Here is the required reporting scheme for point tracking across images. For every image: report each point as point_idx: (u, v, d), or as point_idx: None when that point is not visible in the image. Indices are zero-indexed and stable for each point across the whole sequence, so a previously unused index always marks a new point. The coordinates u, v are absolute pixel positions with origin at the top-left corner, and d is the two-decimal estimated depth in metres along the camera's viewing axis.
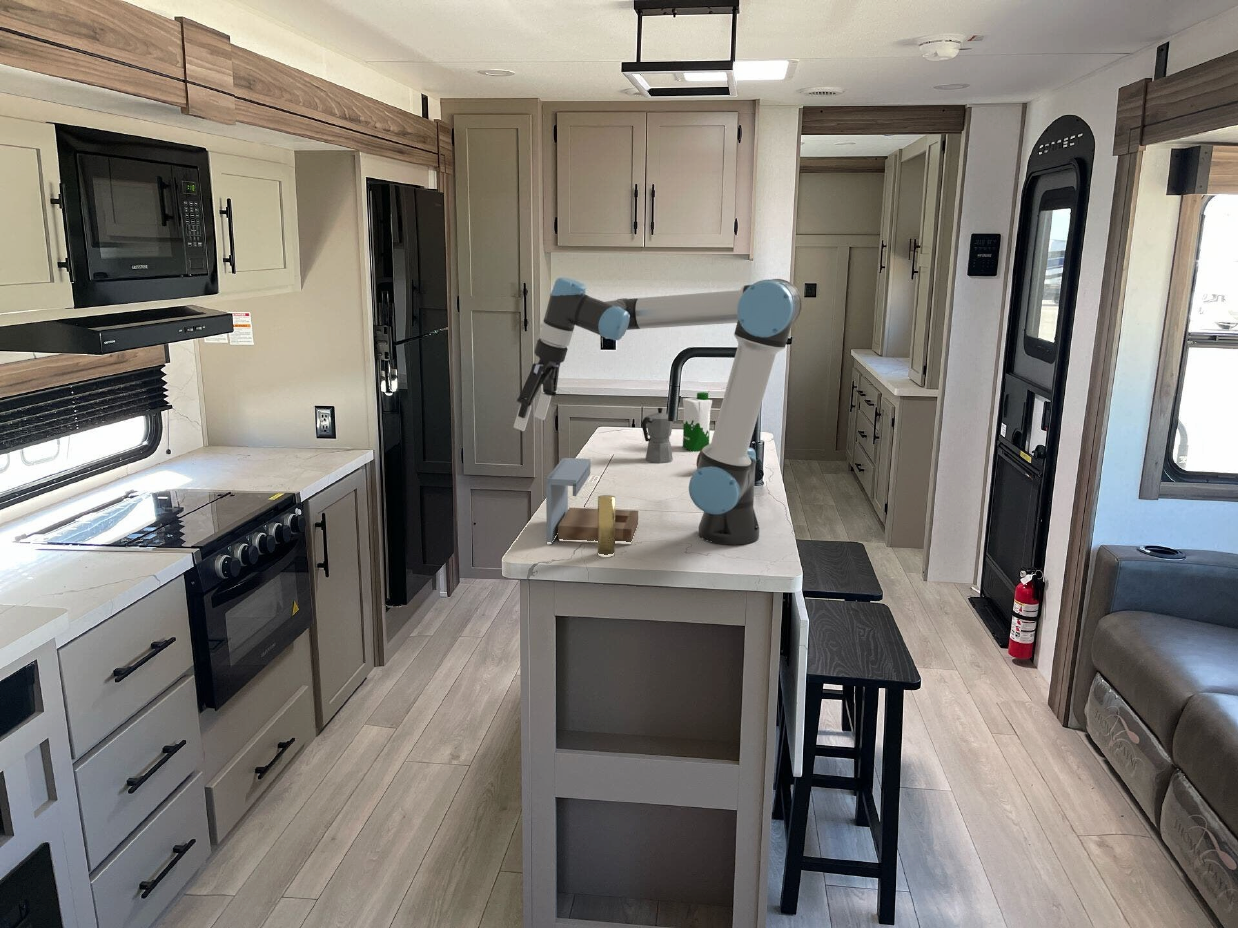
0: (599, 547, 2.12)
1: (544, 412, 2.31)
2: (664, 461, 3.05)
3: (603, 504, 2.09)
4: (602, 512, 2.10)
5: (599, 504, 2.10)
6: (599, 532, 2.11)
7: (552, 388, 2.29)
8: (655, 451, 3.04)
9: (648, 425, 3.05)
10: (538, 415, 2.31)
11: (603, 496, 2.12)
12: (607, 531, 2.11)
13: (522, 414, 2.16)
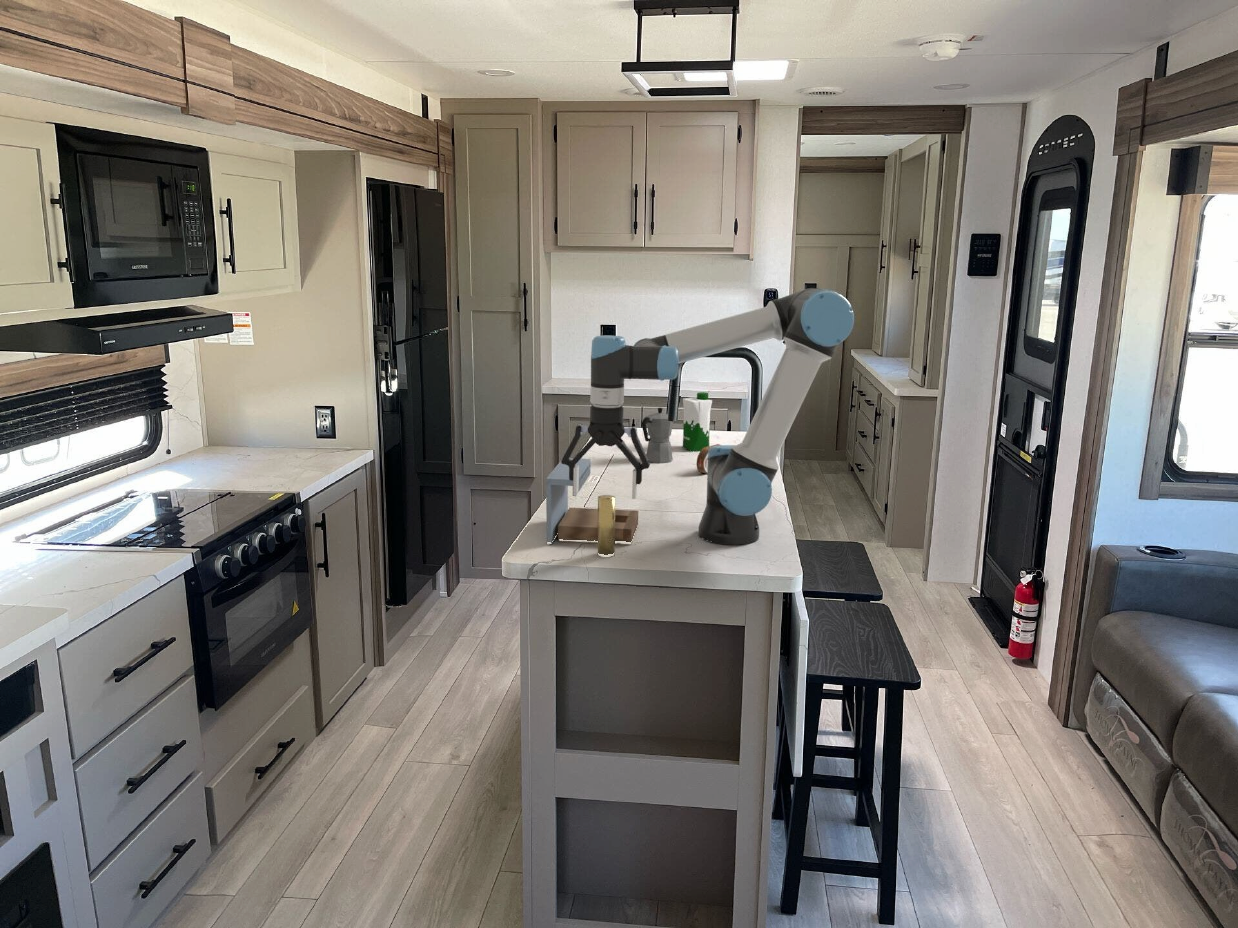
0: (599, 547, 2.12)
1: (578, 484, 2.12)
2: (664, 461, 3.05)
3: (603, 504, 2.09)
4: (602, 512, 2.10)
5: (599, 504, 2.10)
6: (599, 532, 2.11)
7: None
8: (655, 451, 3.04)
9: (648, 425, 3.05)
10: (577, 491, 2.11)
11: (603, 496, 2.12)
12: (607, 531, 2.11)
13: (641, 479, 2.09)
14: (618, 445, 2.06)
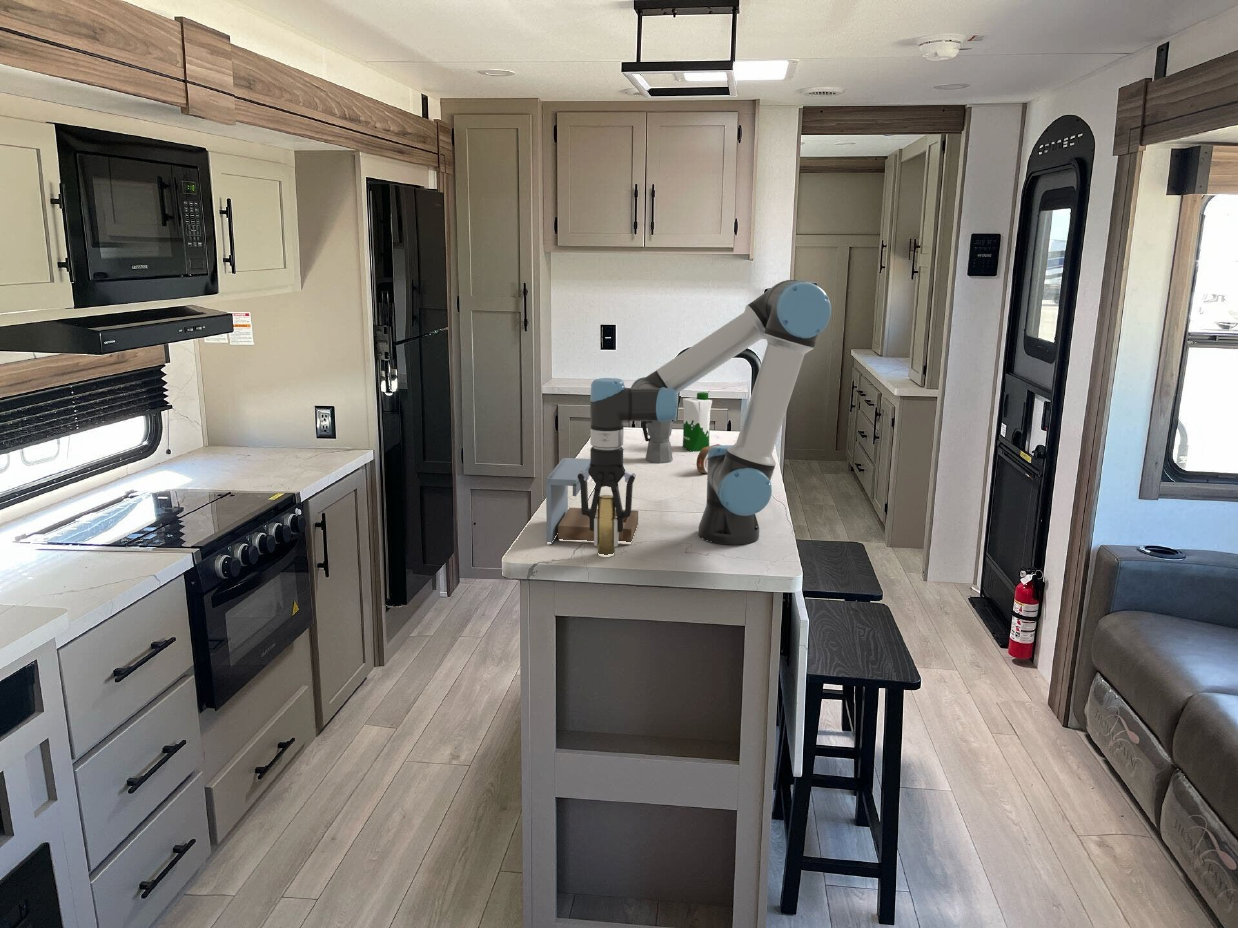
0: (599, 547, 2.12)
1: None
2: (664, 461, 3.05)
3: (603, 504, 2.09)
4: (602, 512, 2.10)
5: (599, 504, 2.10)
6: (600, 532, 2.11)
7: None
8: (655, 451, 3.04)
9: (648, 425, 3.05)
10: (597, 540, 2.13)
11: (603, 496, 2.12)
12: (607, 531, 2.11)
13: None
14: (612, 488, 2.08)
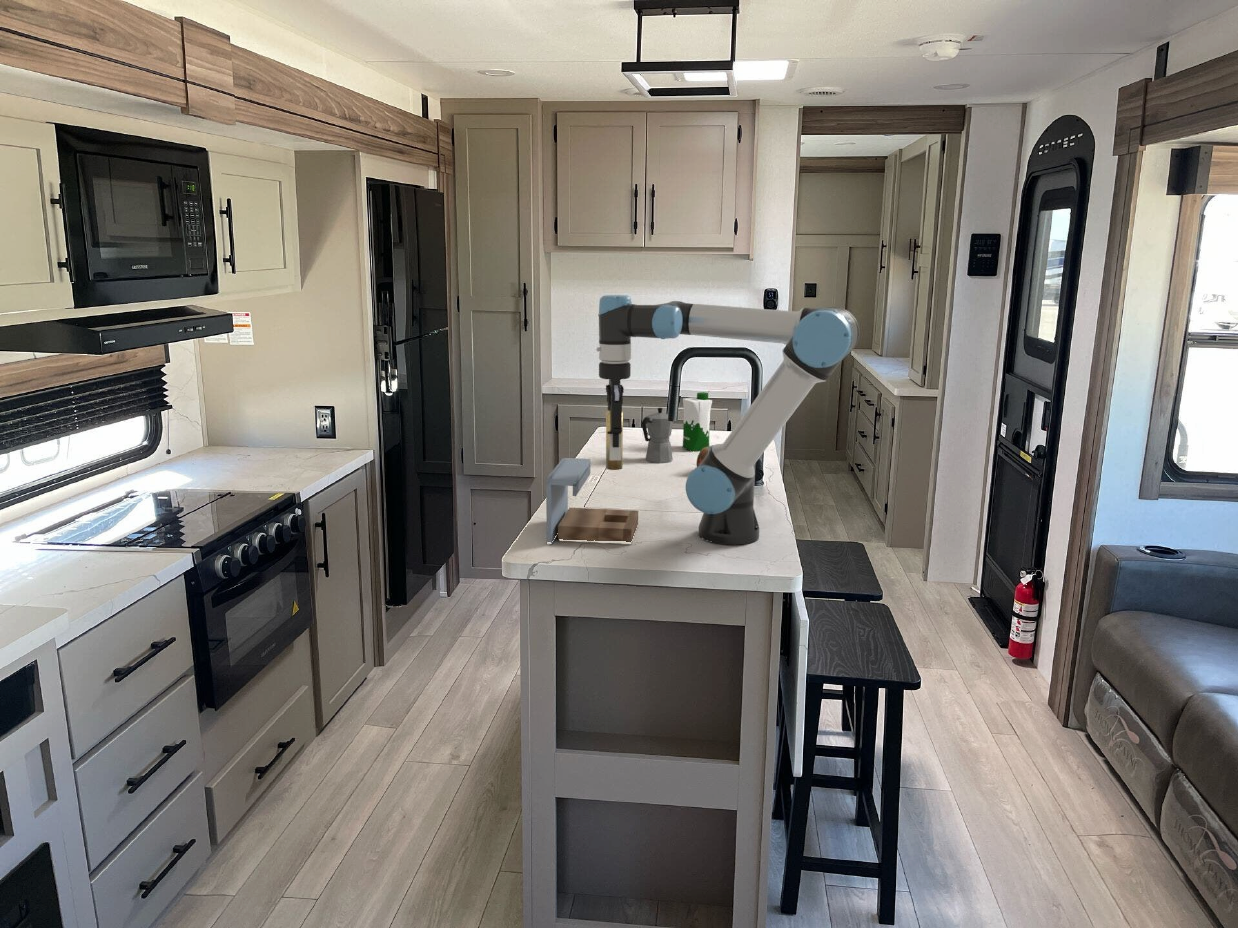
0: None
1: None
2: (664, 461, 3.05)
3: (606, 416, 2.19)
4: None
5: None
6: None
7: None
8: (655, 451, 3.04)
9: (648, 425, 3.05)
10: None
11: None
12: (606, 443, 2.20)
13: (617, 443, 2.17)
14: (608, 401, 2.16)
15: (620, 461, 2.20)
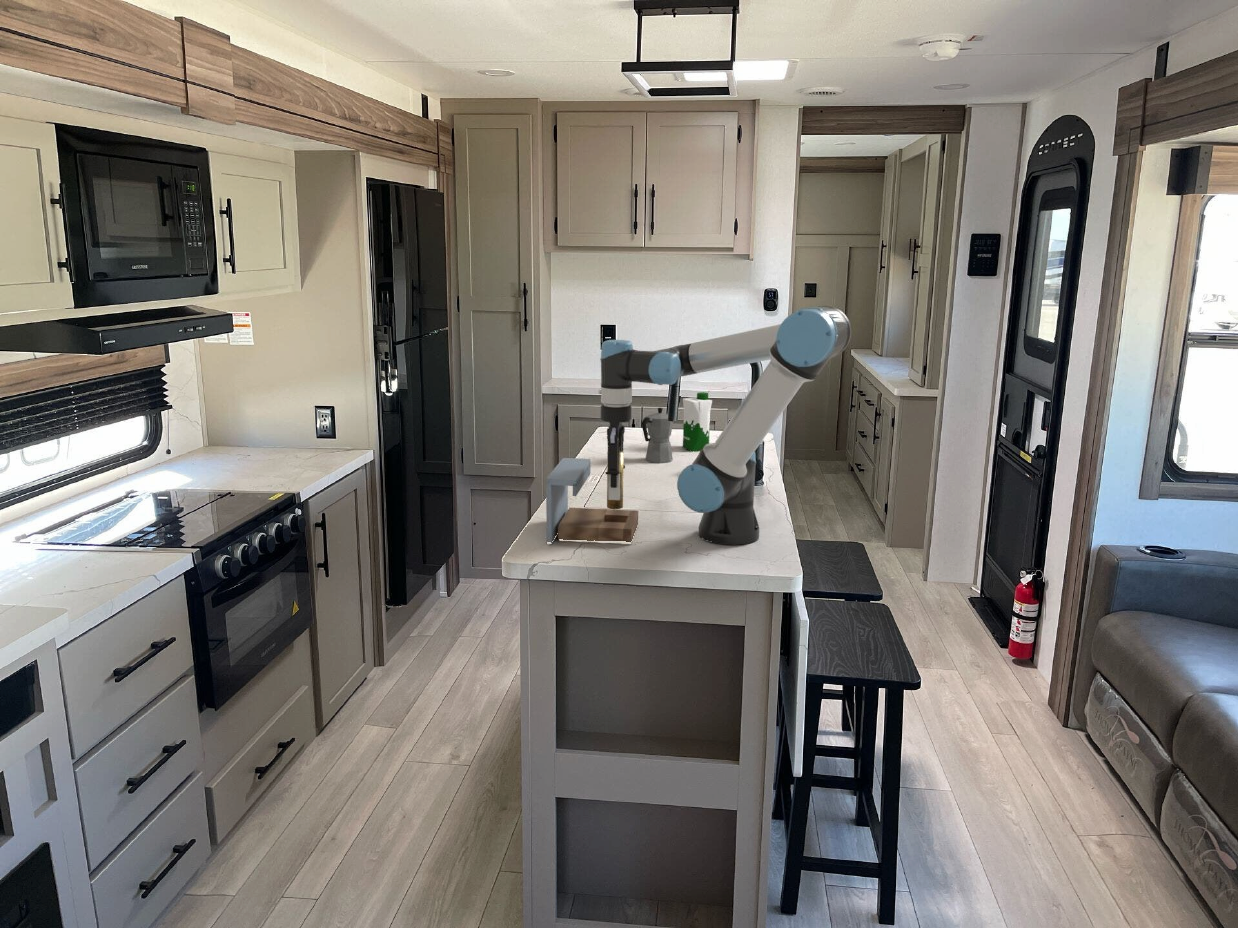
0: None
1: None
2: (664, 461, 3.05)
3: None
4: None
5: None
6: None
7: None
8: (655, 451, 3.04)
9: (648, 425, 3.05)
10: None
11: None
12: (607, 482, 2.26)
13: (614, 484, 2.23)
14: None
15: (619, 501, 2.26)
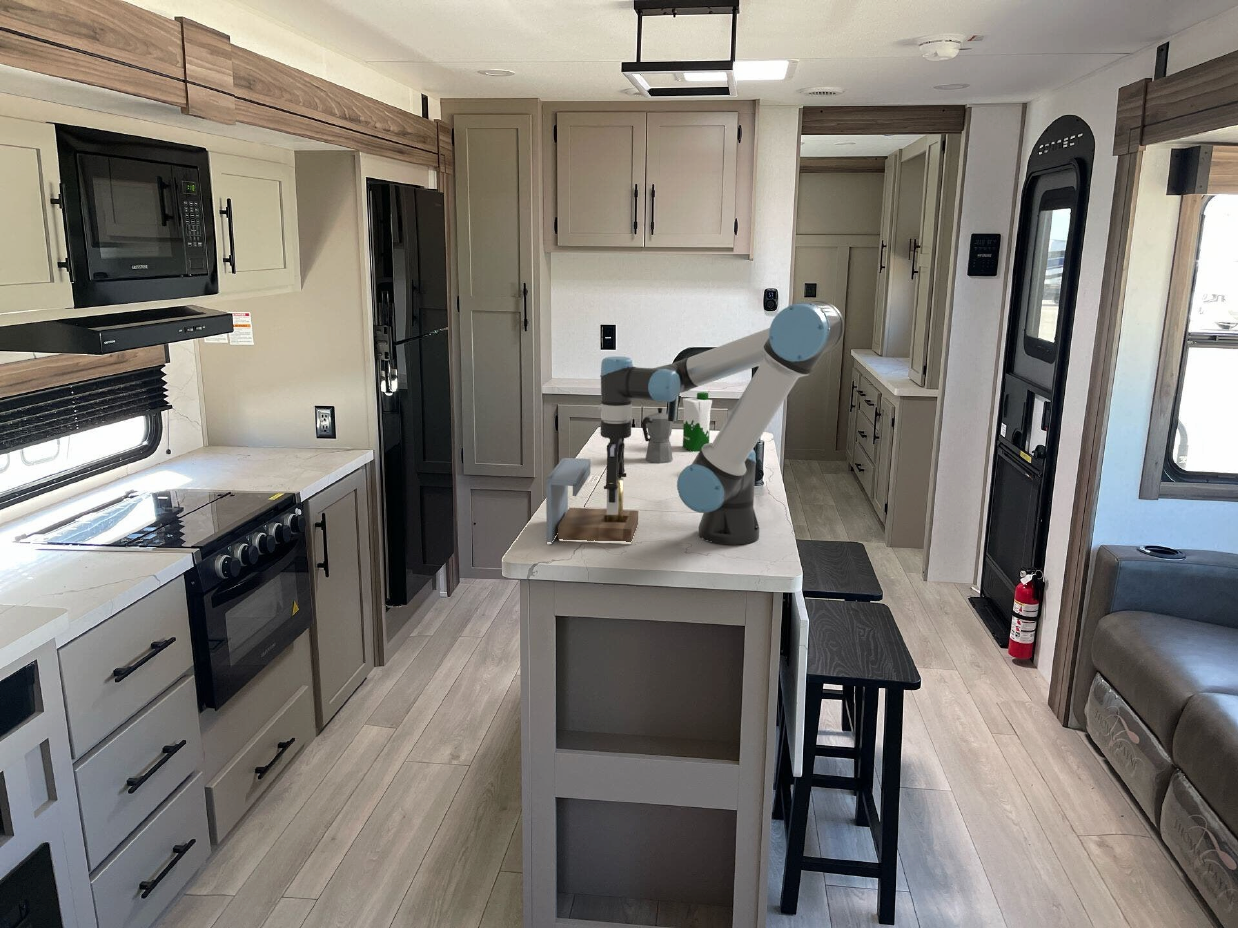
0: None
1: None
2: (664, 461, 3.05)
3: None
4: None
5: None
6: None
7: (622, 469, 2.31)
8: (655, 451, 3.04)
9: (648, 425, 3.05)
10: None
11: (618, 479, 2.27)
12: None
13: (612, 499, 2.20)
14: None
15: None
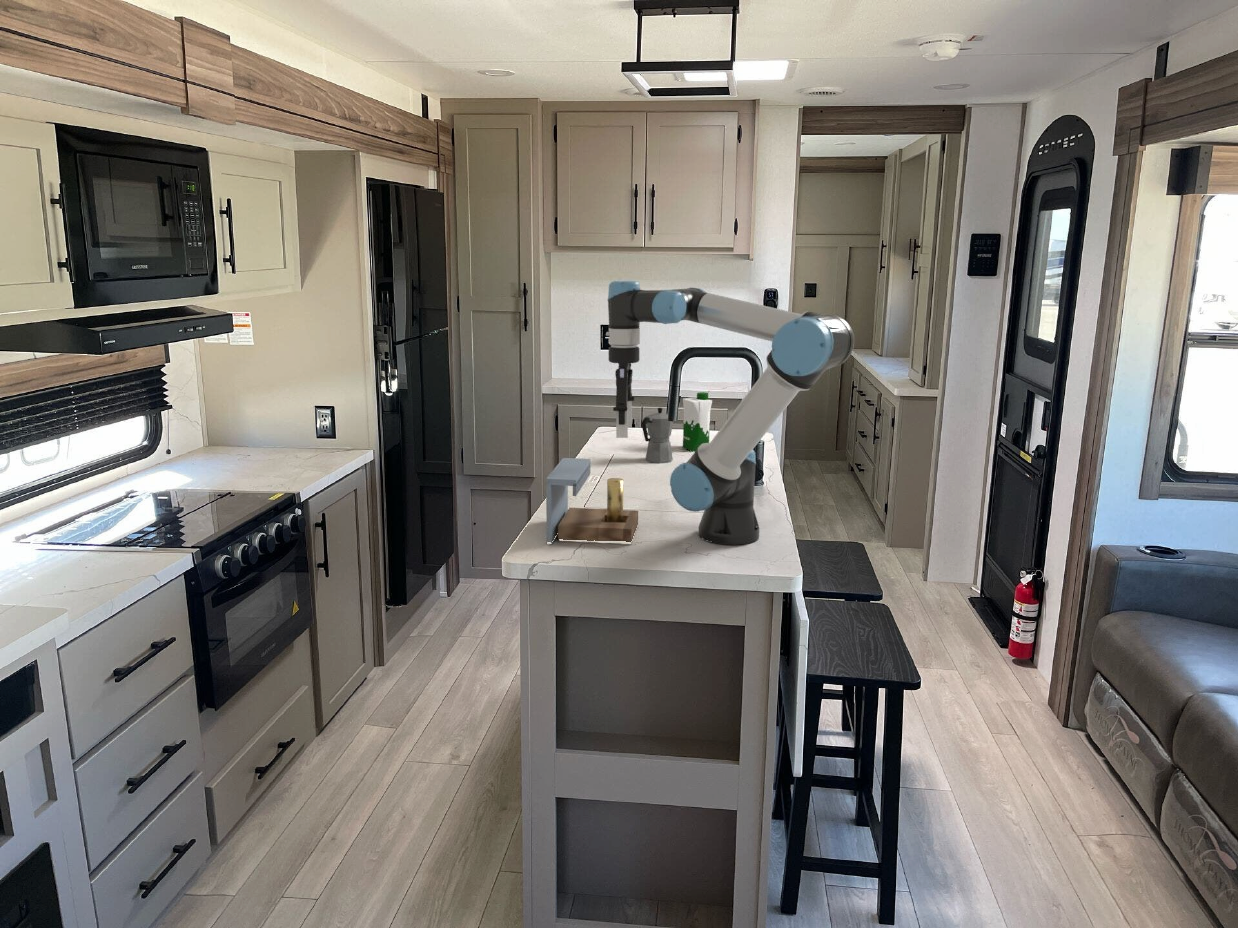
0: None
1: (629, 419, 2.31)
2: (664, 461, 3.05)
3: None
4: None
5: None
6: None
7: (630, 393, 2.30)
8: (655, 451, 3.04)
9: (648, 425, 3.05)
10: None
11: (618, 479, 2.27)
12: (607, 510, 2.28)
13: (622, 421, 2.17)
14: (616, 383, 2.20)
15: None
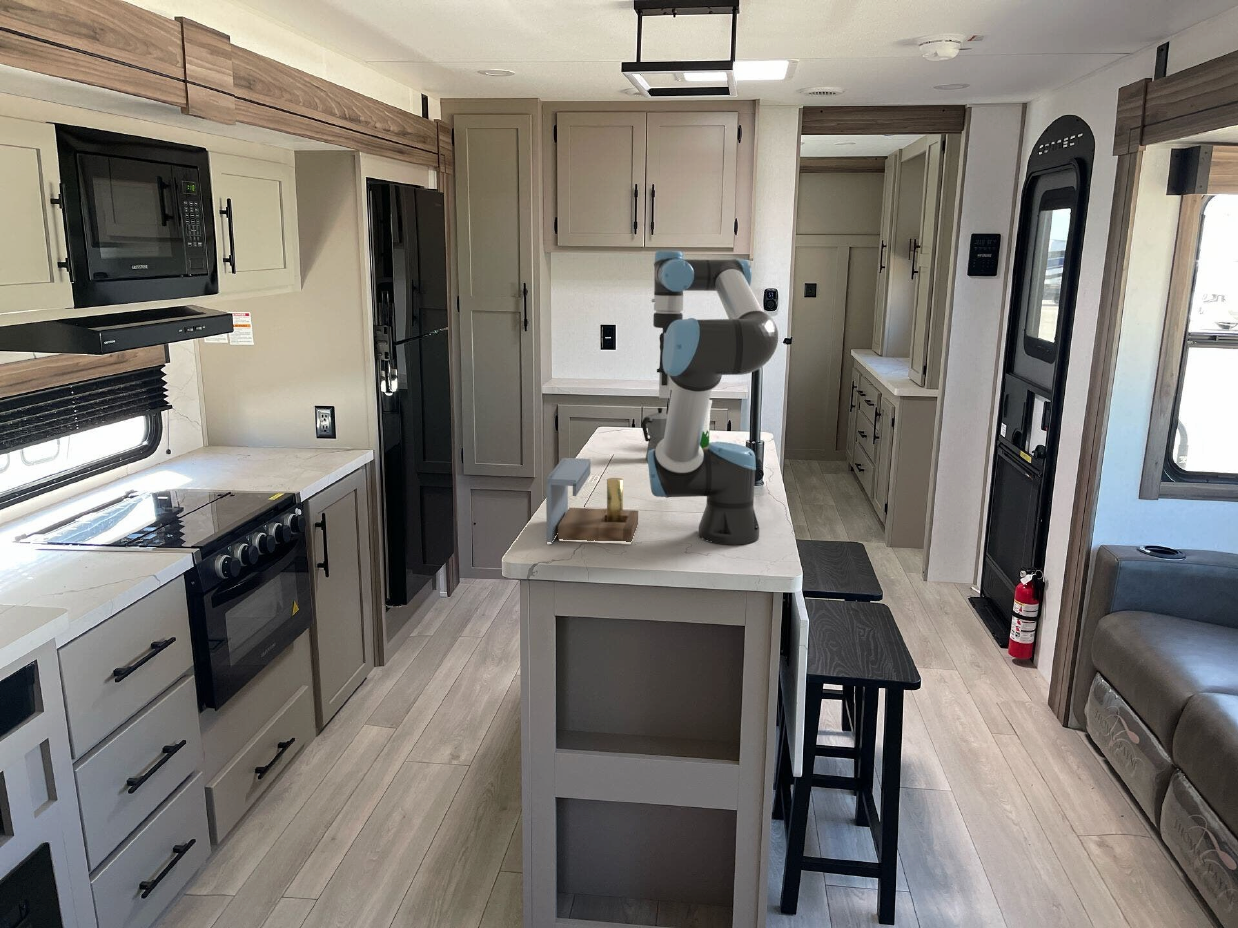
0: None
1: (672, 382, 2.46)
2: None
3: None
4: None
5: None
6: None
7: None
8: None
9: (648, 425, 3.05)
10: None
11: (618, 478, 2.27)
12: (607, 510, 2.28)
13: (665, 382, 2.31)
14: None
15: None
